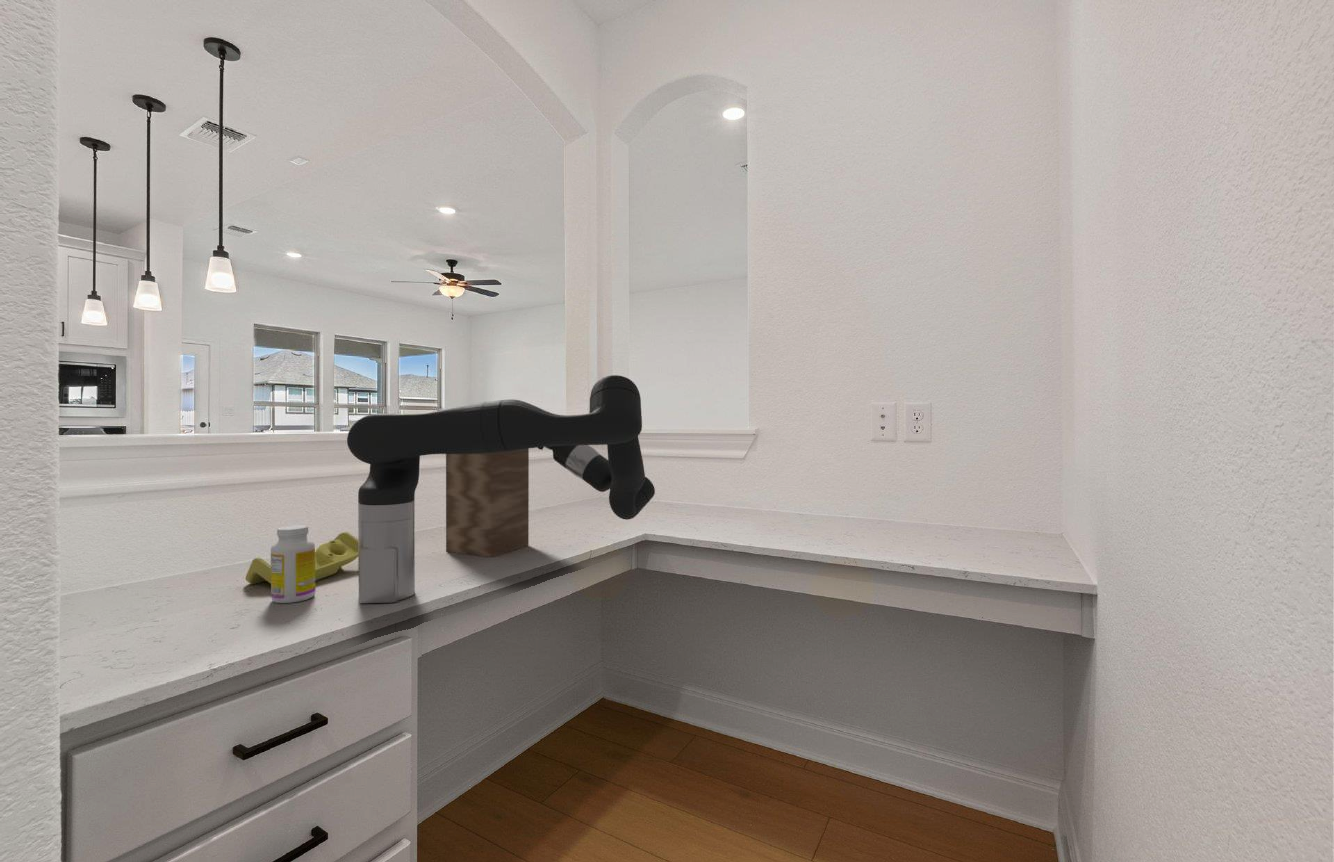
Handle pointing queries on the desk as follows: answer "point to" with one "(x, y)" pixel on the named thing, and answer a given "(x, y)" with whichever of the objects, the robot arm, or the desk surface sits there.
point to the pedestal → (487, 502)
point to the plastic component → (326, 559)
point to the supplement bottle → (292, 565)
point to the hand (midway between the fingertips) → (528, 421)
